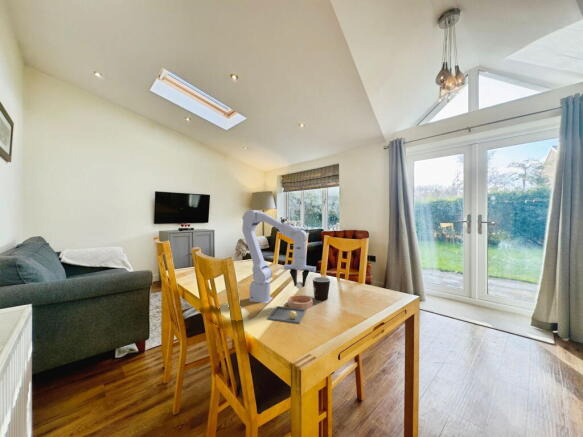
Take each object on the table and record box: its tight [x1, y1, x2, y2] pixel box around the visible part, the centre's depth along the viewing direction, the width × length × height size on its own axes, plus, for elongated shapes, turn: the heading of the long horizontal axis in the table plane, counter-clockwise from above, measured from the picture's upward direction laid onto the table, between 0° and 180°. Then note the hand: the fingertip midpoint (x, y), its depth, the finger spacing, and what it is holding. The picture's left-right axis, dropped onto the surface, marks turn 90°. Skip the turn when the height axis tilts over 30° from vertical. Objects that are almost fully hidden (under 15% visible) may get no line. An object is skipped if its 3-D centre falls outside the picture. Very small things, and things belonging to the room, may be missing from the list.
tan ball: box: [289, 311, 297, 319], centre depth 92 cm, size 3×3×3 cm
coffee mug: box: [312, 276, 331, 302], centre depth 117 cm, size 12×9×10 cm
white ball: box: [295, 281, 303, 290], centre depth 107 cm, size 3×3×3 cm
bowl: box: [287, 294, 314, 310], centre depth 107 cm, size 11×11×3 cm
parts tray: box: [267, 305, 307, 325], centre depth 96 cm, size 13×12×1 cm
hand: (299, 286), depth 107 cm, fingers closed on white ball, 3 cm apart
